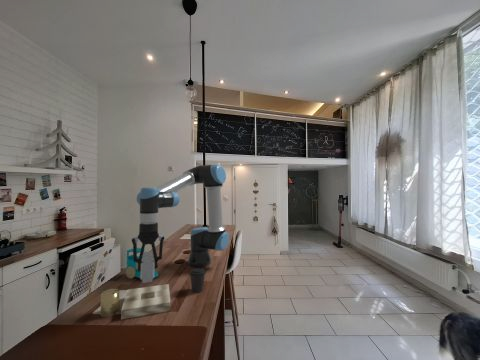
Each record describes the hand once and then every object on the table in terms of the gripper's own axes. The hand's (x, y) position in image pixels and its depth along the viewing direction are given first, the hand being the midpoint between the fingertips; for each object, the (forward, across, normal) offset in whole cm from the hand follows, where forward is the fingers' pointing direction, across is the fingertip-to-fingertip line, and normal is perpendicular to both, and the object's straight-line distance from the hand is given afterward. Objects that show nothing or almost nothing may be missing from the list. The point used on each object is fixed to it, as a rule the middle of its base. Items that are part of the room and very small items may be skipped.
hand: (147, 276), depth 97 cm
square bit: (+2, 0, 0) cm, 2 cm away
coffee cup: (+12, -23, -6) cm, 26 cm away
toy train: (+12, +4, -32) cm, 35 cm away
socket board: (+12, 0, 0) cm, 12 cm away
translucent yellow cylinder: (+12, +14, +2) cm, 18 cm away
